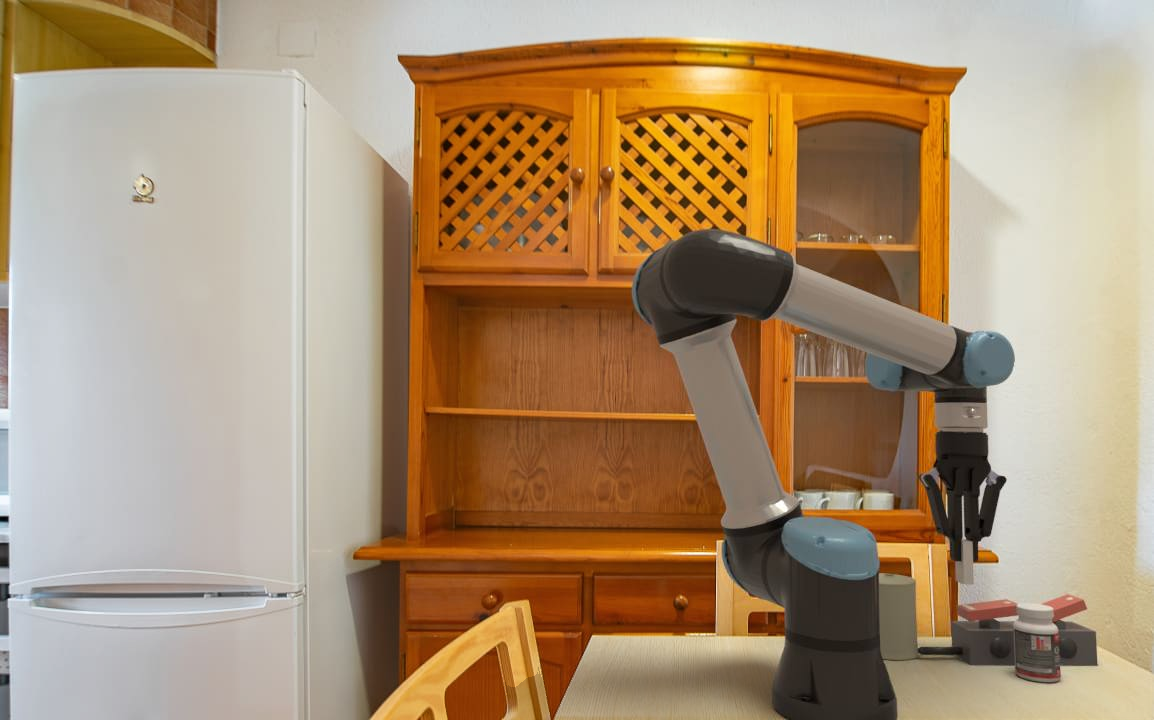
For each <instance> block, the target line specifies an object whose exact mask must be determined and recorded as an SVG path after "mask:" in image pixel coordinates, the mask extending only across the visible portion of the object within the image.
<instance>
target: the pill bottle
mask: <svg viewBox="0 0 1154 720" xmlns="http://www.w3.org/2000/svg"><path fill="white" fill-rule="evenodd" d="M1016 612H1017V614H1018V619H1016V620H1015V622H1014V624H1013V635H1014V659H1015V665H1014V672H1015V674H1016V675H1017V676H1018V677H1020V678H1022V679H1025V680H1027V681H1031V682H1036V683H1048V684H1050V683H1056V682H1059V681H1060V680H1061V677H1062V676H1061V675H1062V674H1061V665H1060V652H1059V632H1058V628H1057V626H1056V625H1055V624H1054V623H1052V618H1053V617H1054V611H1053V608H1052V607H1050V606H1046V605H1042V603H1033V602H1031V603H1030V602H1027V603H1026V602H1025V603H1024V602H1023V603H1017V605H1016Z"/></svg>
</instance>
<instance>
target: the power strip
mask: <svg viewBox="0 0 1154 720" xmlns="http://www.w3.org/2000/svg"><path fill="white" fill-rule="evenodd" d="M1015 621H1016V620H1015ZM1015 621H1014V620H1013V621H1012V620H1007V621H1005V620H1000V621H999V620H997V619H996V618H994V619H986V620H978V621H968V620H951V621H950V627H951V646H918V653H919V655H922V656H956V657H957V658H958V659H960V658H961V660H962V661H964V662H965V663H967V664H968V665H970V666H1015V659H1014V635H1013V624H1014V622H1015ZM1052 623H1054V624H1055V625H1056V626H1057V628H1058V632H1059V652H1060V666H1098V645H1097V644H1098V643H1097V631H1096V630H1094V629H1091V628H1088V627H1086V626H1083V625H1082V624H1078V623H1077V622H1074V621H1066V620H1065V621H1064V620H1062V619H1060V620H1057V621H1054V622H1052Z"/></svg>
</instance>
